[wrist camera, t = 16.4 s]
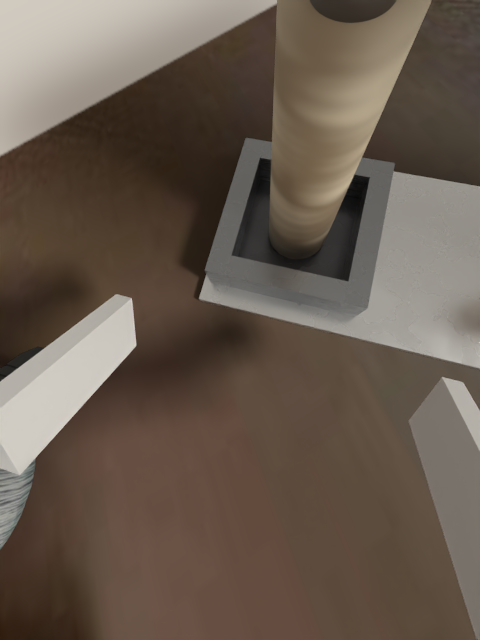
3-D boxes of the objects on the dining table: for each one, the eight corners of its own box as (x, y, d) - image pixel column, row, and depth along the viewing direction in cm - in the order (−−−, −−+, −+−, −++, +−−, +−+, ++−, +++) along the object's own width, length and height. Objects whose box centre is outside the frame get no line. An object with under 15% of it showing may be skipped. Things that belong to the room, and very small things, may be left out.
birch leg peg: (331, 213, 22) (471, -132, 7) (319, 264, 21) (451, -4, 6) (275, 202, 23) (300, -137, 8) (262, 252, 22) (261, -19, 7)
